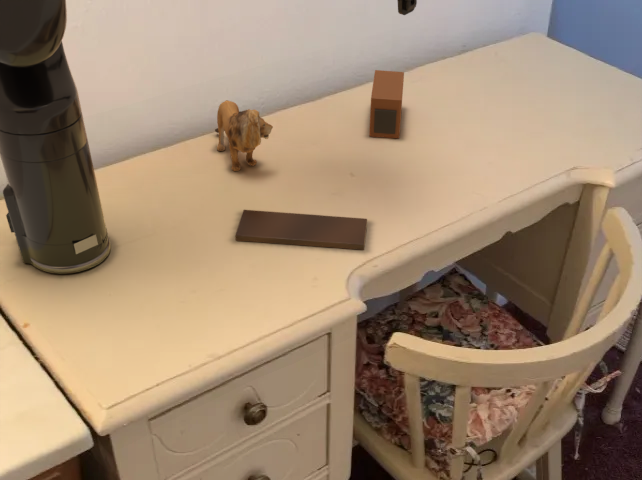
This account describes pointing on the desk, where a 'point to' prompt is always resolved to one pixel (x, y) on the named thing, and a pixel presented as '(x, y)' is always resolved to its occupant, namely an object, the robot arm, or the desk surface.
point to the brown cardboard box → (386, 104)
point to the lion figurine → (240, 131)
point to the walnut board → (302, 229)
